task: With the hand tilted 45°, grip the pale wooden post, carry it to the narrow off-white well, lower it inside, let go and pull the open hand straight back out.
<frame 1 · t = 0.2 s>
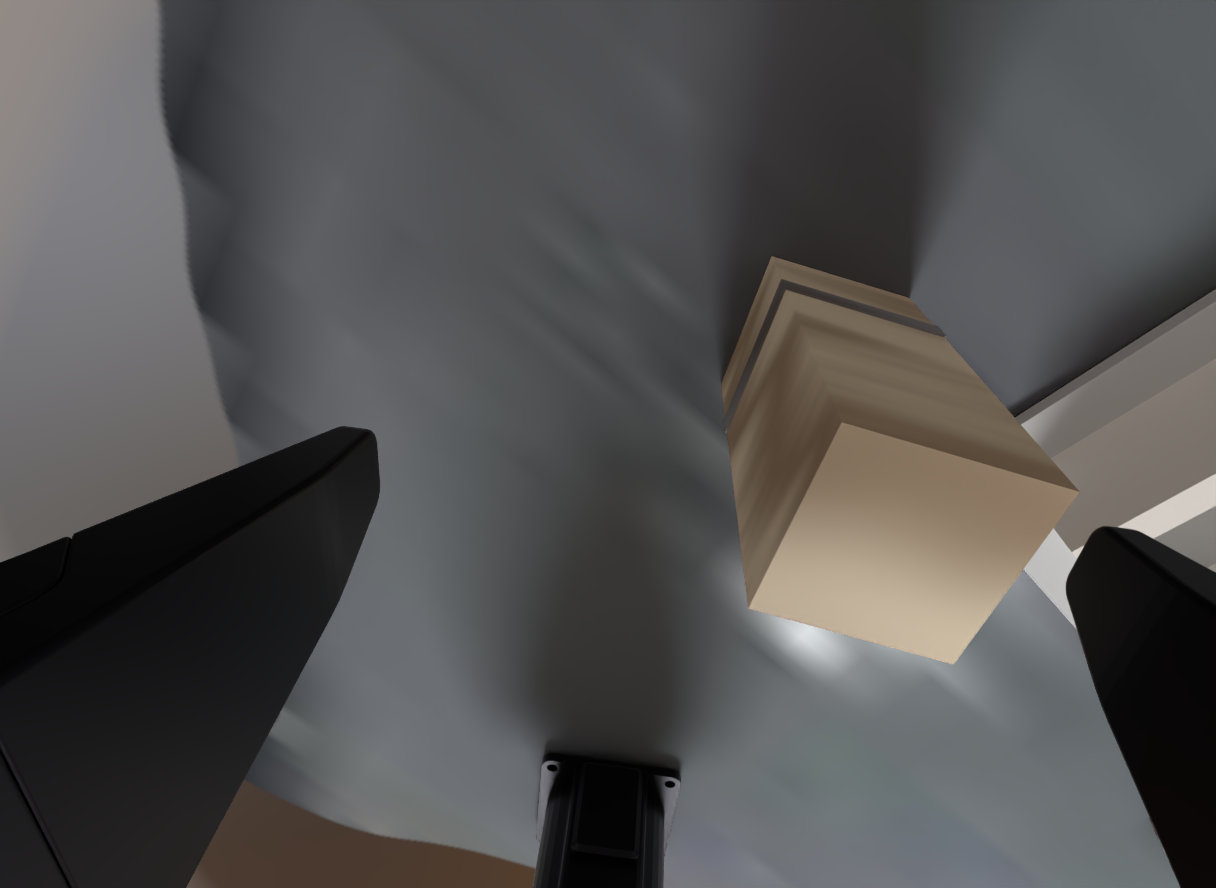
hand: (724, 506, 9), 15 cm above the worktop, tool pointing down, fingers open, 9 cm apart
well: (1194, 480, 25), on the worktop
wooden post: (811, 342, 24), on the worktop
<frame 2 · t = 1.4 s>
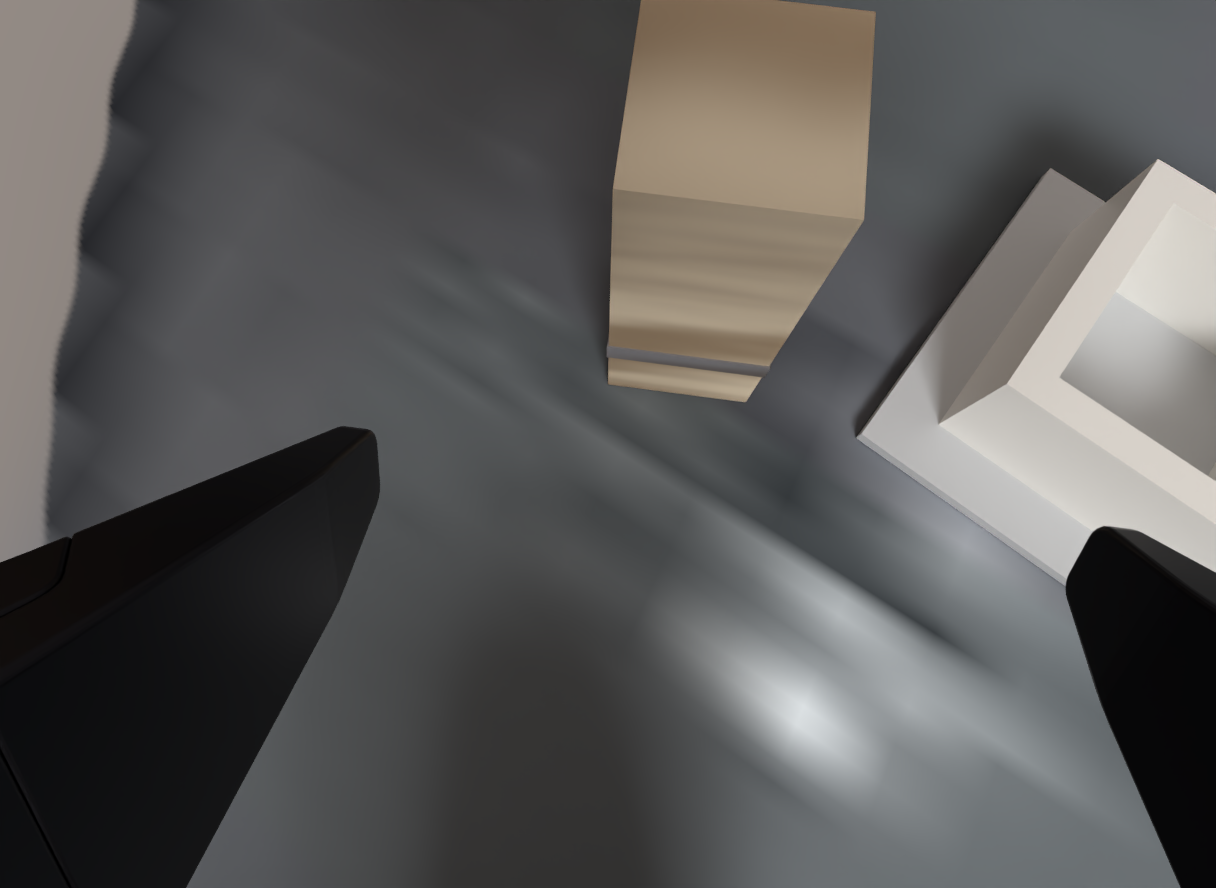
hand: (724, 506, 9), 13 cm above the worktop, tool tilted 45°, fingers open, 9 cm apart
well: (1111, 406, 24), on the worktop
wooden post: (684, 329, 24), on the worktop
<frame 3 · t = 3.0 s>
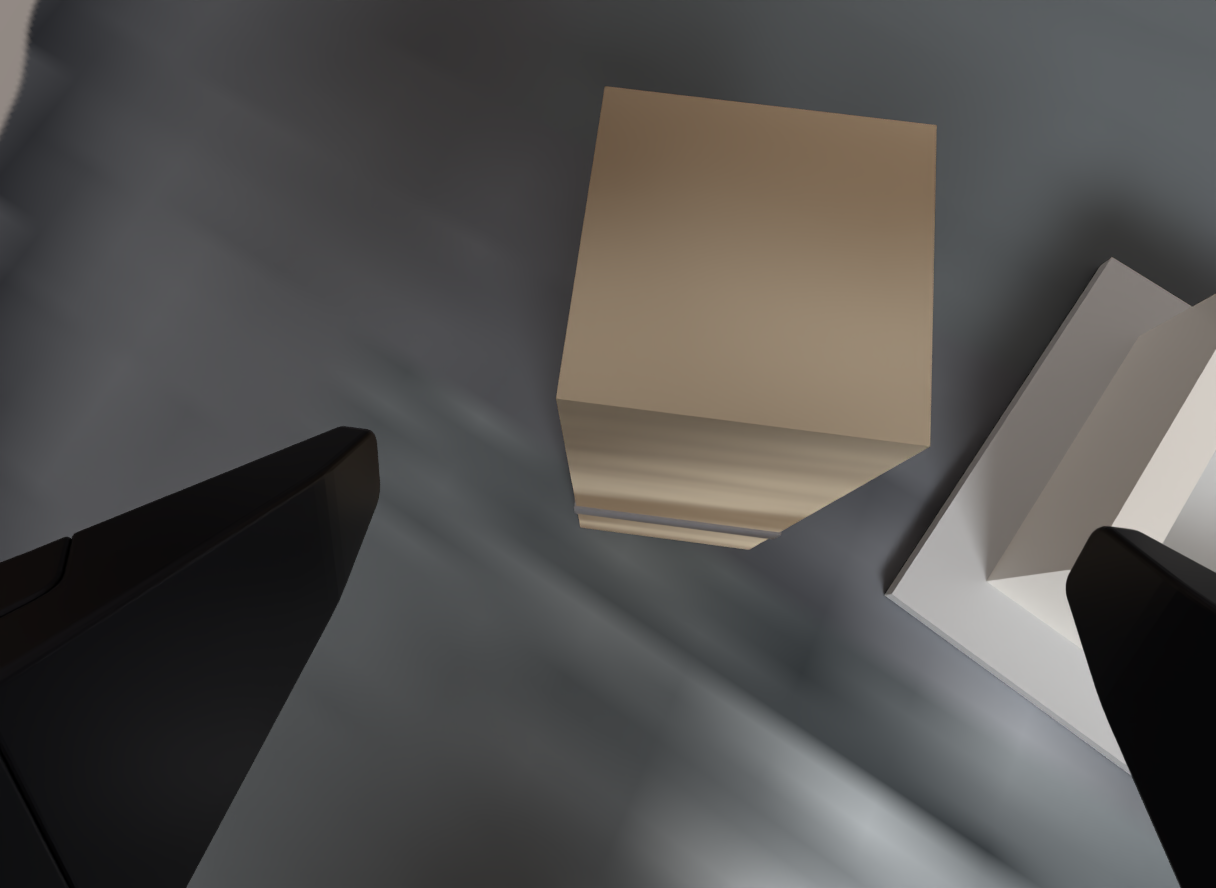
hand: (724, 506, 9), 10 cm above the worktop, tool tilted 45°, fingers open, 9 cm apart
well: (1195, 552, 19), on the worktop
wooden post: (673, 456, 20), on the worktop
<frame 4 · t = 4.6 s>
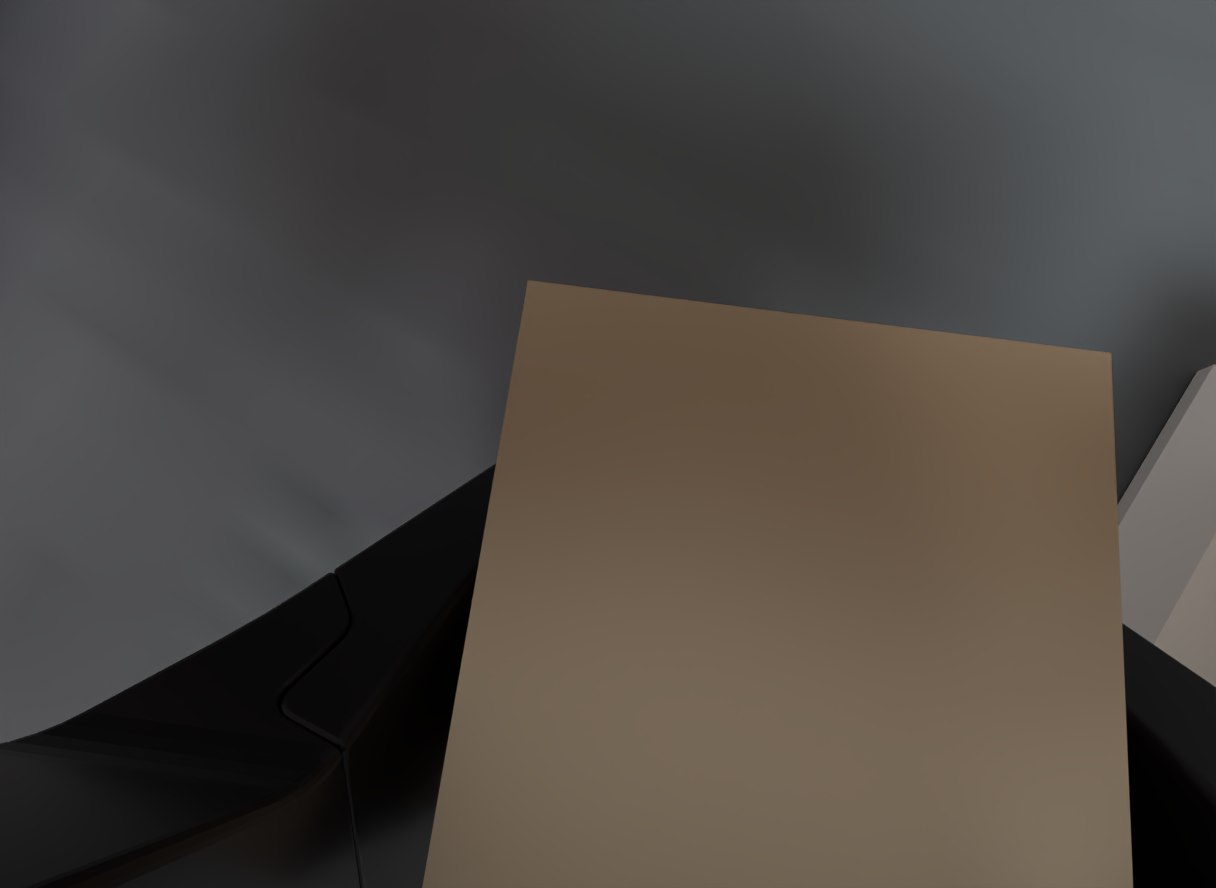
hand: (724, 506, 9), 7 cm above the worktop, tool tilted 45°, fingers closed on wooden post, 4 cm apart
wooden post: (664, 624, 16), on the worktop, touching gripper
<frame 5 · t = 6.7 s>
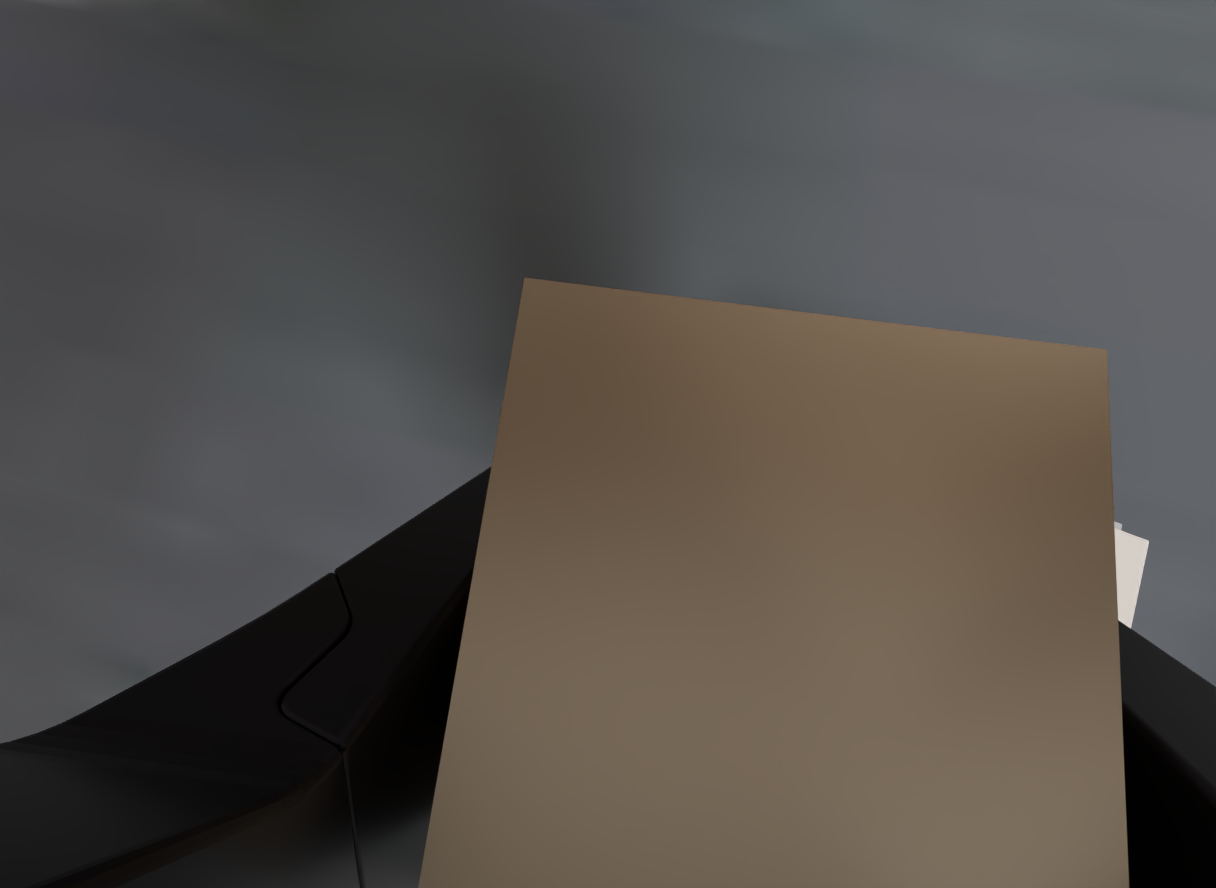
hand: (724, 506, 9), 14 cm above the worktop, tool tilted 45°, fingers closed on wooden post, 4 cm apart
well: (873, 637, 22), on the worktop
wooden post: (663, 623, 16), point 7 cm above the worktop, touching gripper
when the fingers open (9 cm above the worktop, at t = 9.0 s): wooden post drops 1 cm, resting on well.
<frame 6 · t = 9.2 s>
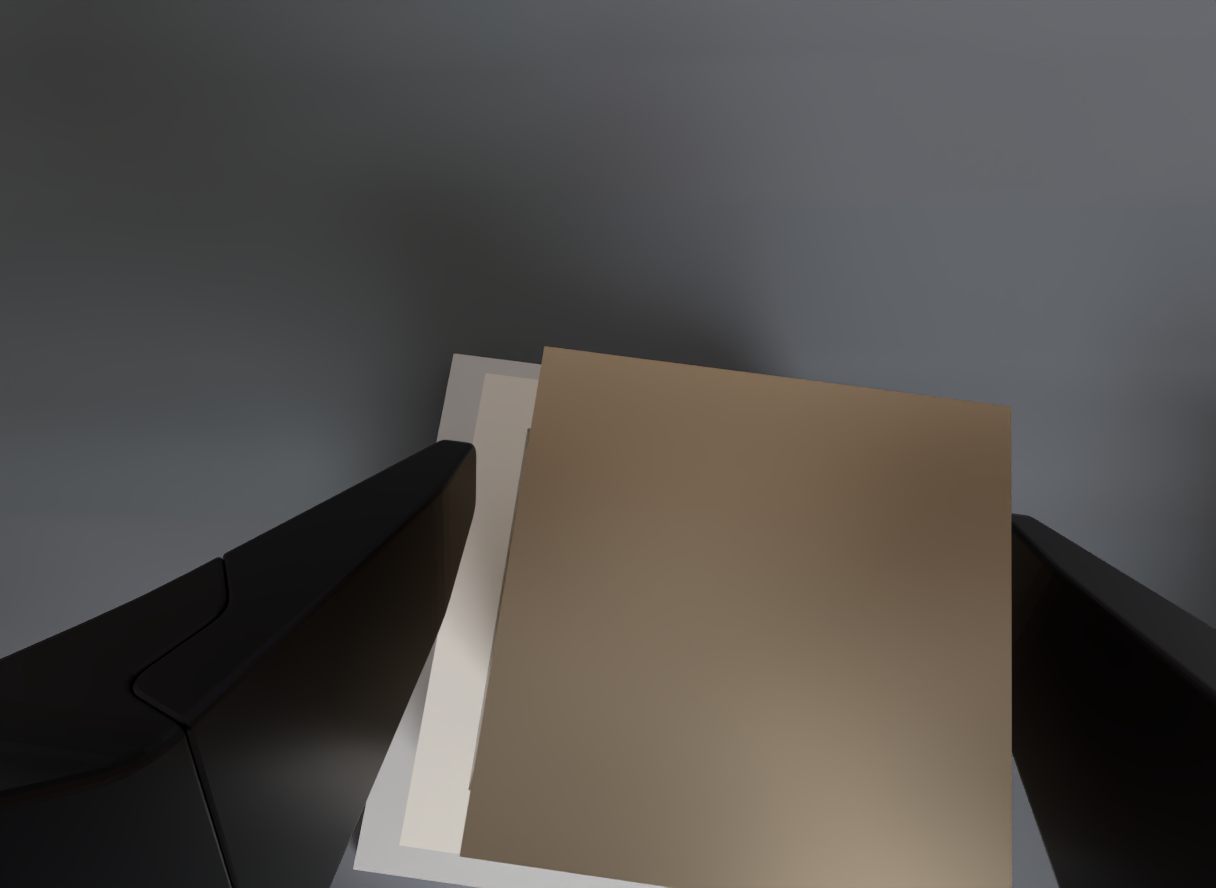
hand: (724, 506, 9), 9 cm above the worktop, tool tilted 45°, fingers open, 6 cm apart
well: (658, 623, 18), on the worktop
wooden post: (660, 623, 17), resting on well
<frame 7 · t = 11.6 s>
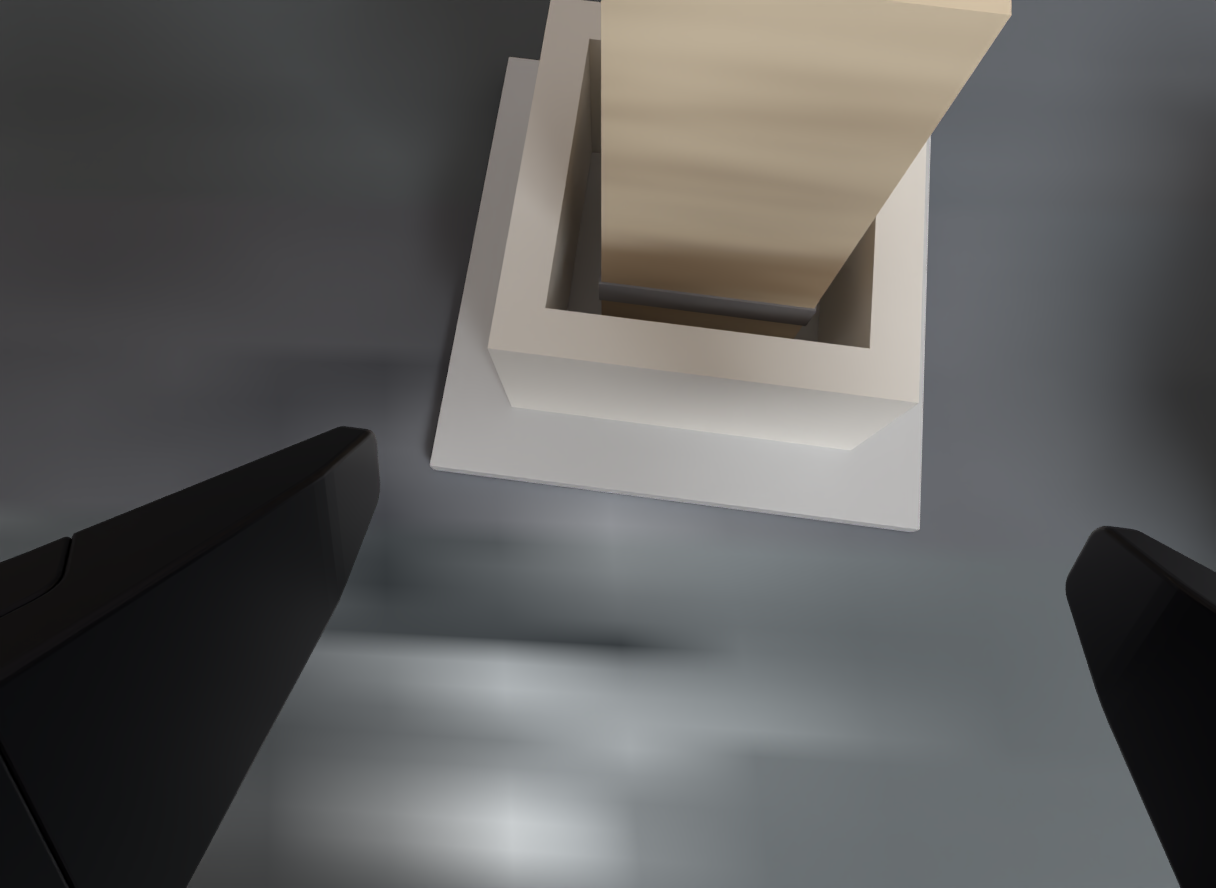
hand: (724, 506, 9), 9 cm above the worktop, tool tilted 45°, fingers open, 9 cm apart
well: (695, 282, 20), on the worktop
wooden post: (697, 273, 19), resting on well
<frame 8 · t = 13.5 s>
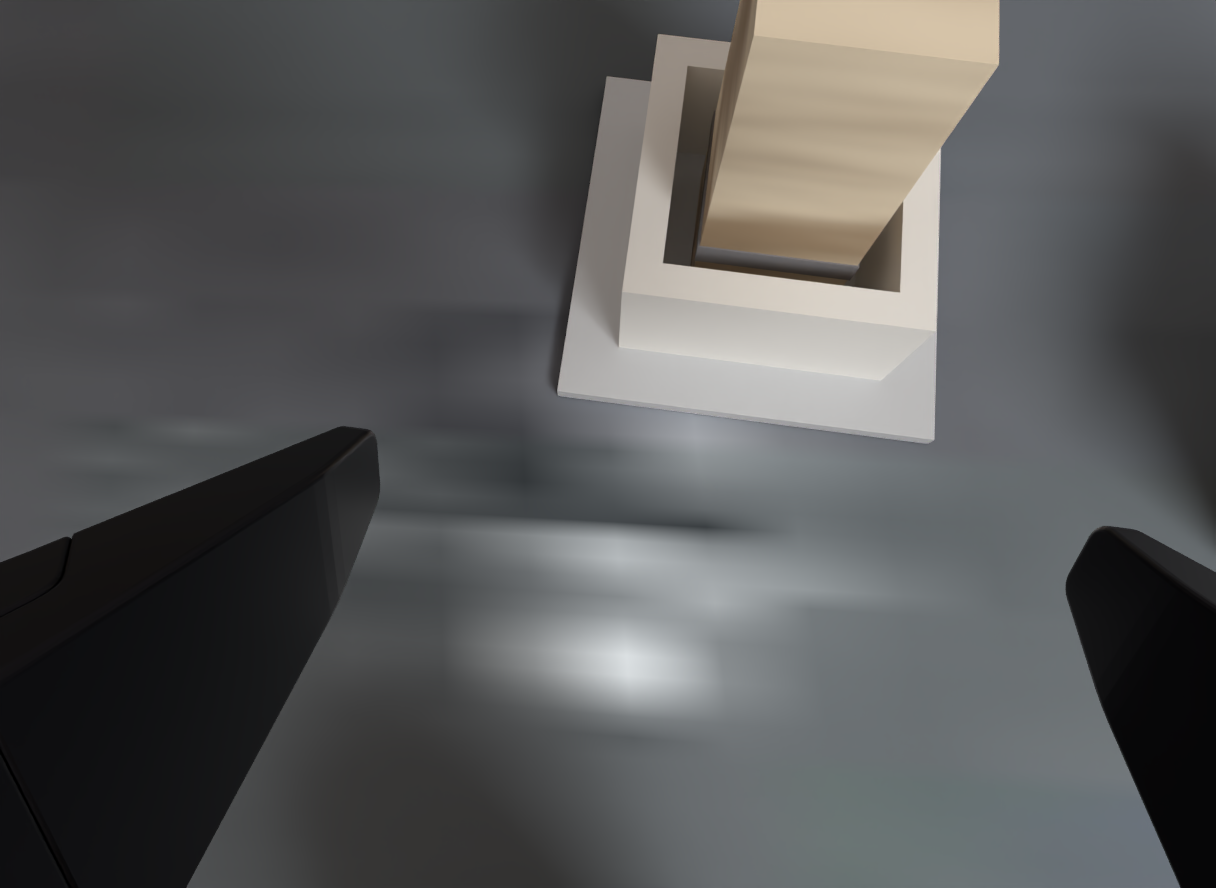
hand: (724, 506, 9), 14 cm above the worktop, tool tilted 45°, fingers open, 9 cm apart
well: (756, 253, 25), on the worktop
wooden post: (760, 245, 25), resting on well
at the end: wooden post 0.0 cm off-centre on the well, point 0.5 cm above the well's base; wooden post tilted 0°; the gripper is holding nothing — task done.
